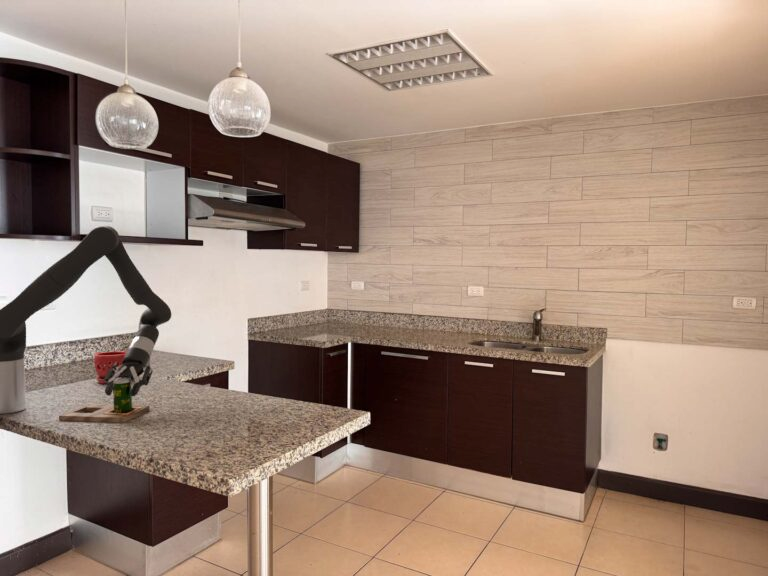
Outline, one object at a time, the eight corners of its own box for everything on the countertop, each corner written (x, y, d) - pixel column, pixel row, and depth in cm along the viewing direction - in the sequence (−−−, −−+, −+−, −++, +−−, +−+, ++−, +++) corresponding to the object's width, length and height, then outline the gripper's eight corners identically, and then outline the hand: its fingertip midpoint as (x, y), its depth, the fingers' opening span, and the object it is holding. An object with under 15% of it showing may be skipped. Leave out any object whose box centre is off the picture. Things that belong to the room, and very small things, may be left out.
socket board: (59, 420, 173) (58, 414, 173) (88, 408, 187) (88, 403, 187) (124, 422, 170) (124, 416, 170) (149, 410, 184) (149, 405, 184)
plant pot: (129, 383, 226) (128, 354, 225) (93, 386, 221) (92, 356, 221) (131, 377, 238) (130, 349, 237) (97, 379, 233) (96, 351, 233)
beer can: (124, 412, 181) (123, 376, 181) (136, 414, 179) (135, 377, 179) (110, 416, 176) (108, 379, 176) (122, 418, 174) (121, 381, 174)
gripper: (114, 346, 185) (93, 387, 174) (154, 346, 183) (135, 389, 172) (124, 359, 190) (104, 400, 180) (163, 359, 189) (145, 401, 178)
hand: (119, 394), depth 176 cm, fingers open, 8 cm apart
